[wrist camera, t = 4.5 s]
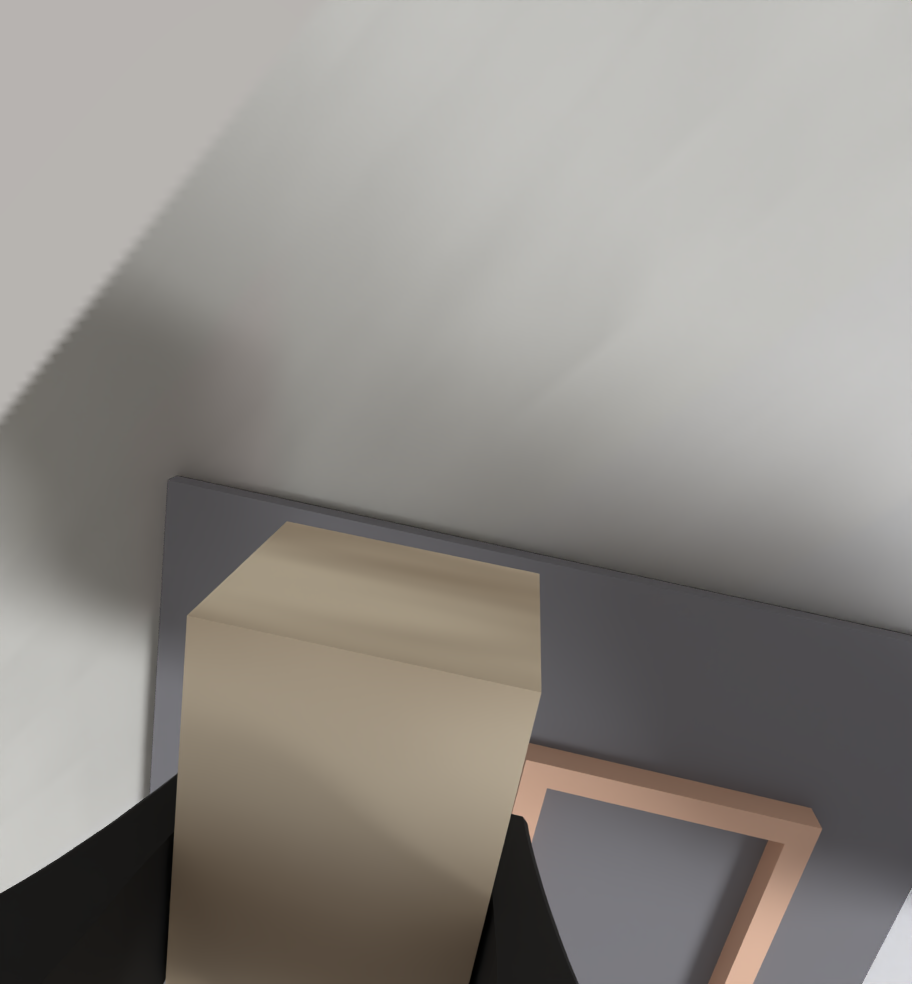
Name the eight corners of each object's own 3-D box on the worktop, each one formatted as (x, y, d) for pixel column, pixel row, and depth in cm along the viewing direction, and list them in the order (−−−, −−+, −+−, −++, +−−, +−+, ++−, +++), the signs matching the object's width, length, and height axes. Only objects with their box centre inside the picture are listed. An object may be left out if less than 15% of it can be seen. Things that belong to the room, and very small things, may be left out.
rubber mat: (1013, 657, 18) (1025, 667, 18) (773, 1128, 25) (778, 1145, 24) (176, 475, 20) (167, 480, 19) (146, 968, 26) (138, 980, 25)
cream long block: (440, 995, 14) (412, 1208, 11) (242, 947, 15) (156, 1142, 11) (539, 574, 11) (540, 692, 8) (287, 521, 12) (186, 616, 8)
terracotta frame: (811, 808, 20) (822, 828, 19) (676, 1117, 24) (680, 1144, 24) (526, 742, 20) (526, 760, 20) (443, 1057, 25) (440, 1082, 24)
